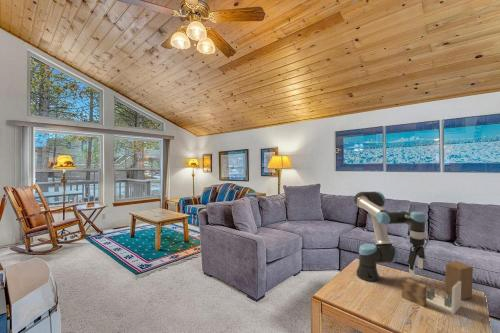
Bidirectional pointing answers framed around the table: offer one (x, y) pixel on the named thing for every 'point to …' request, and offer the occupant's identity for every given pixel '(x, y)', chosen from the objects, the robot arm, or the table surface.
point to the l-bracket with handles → (446, 299)
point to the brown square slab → (414, 291)
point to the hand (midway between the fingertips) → (416, 271)
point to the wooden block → (459, 278)
